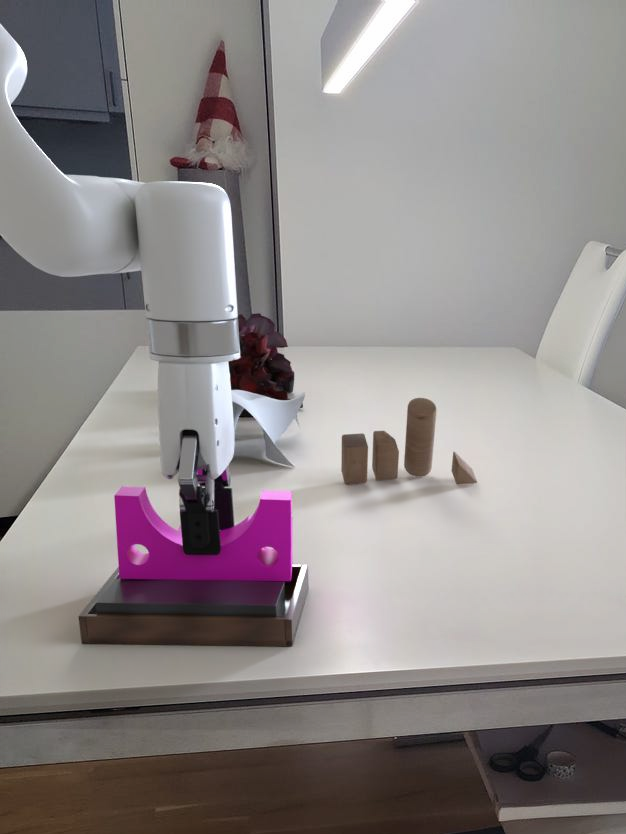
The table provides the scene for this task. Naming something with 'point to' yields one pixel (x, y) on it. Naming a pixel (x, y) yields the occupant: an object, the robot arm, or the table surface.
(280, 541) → the toy block
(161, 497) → the table surface
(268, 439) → the sculpture
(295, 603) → the wooden tray
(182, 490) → the robot arm
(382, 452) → the wooden block set
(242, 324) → the flower arrangement
